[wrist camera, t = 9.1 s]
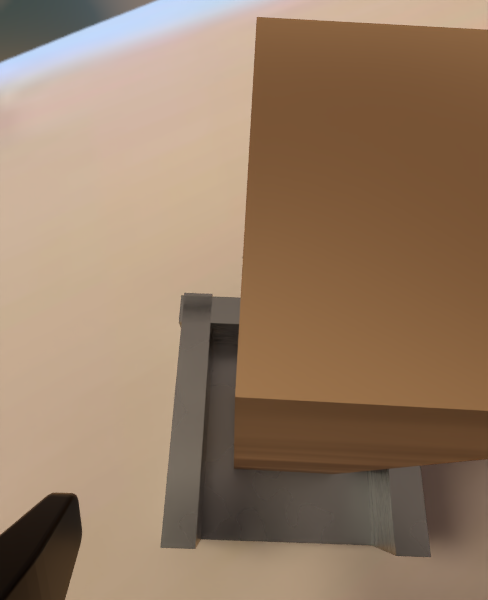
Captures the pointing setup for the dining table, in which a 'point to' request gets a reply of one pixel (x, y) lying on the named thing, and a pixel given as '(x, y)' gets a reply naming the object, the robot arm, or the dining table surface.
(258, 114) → the tall brown wooden block
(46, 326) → the dining table surface
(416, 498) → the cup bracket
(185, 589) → the dining table surface
